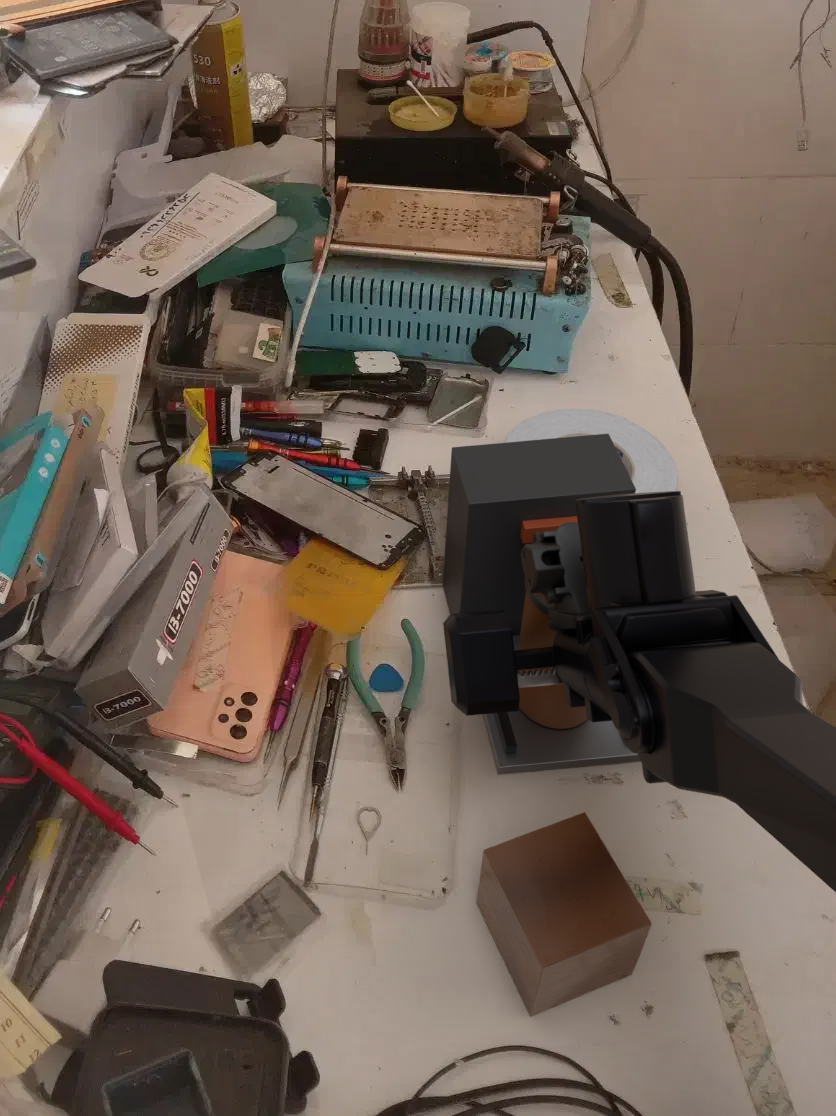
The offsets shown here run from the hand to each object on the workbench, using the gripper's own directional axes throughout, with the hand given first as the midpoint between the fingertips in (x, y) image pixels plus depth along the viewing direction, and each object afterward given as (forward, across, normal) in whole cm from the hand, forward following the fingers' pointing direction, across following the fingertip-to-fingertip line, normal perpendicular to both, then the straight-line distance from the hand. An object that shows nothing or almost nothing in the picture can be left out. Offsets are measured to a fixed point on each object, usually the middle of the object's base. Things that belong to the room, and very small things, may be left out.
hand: (556, 633), depth 73 cm
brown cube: (-8, +5, +17) cm, 20 cm away
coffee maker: (+10, 0, -1) cm, 10 cm away
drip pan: (+4, 0, +6) cm, 7 cm away
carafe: (+3, 0, +5) cm, 6 cm away
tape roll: (+18, -8, -8) cm, 21 cm away
